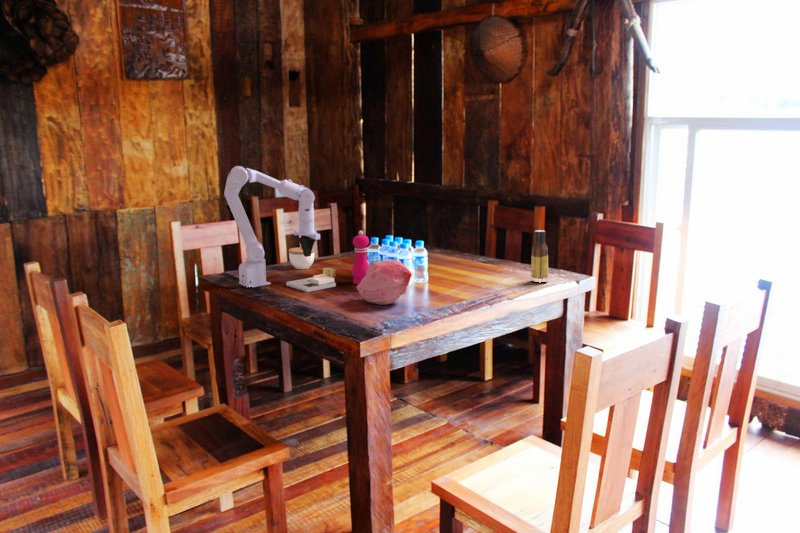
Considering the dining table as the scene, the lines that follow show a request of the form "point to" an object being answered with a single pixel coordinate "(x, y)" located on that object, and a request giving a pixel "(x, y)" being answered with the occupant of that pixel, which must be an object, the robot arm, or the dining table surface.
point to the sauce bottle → (539, 256)
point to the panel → (308, 285)
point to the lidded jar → (300, 258)
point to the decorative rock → (384, 282)
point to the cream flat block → (322, 279)
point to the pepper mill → (360, 257)
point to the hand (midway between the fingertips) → (307, 256)
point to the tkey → (329, 272)
